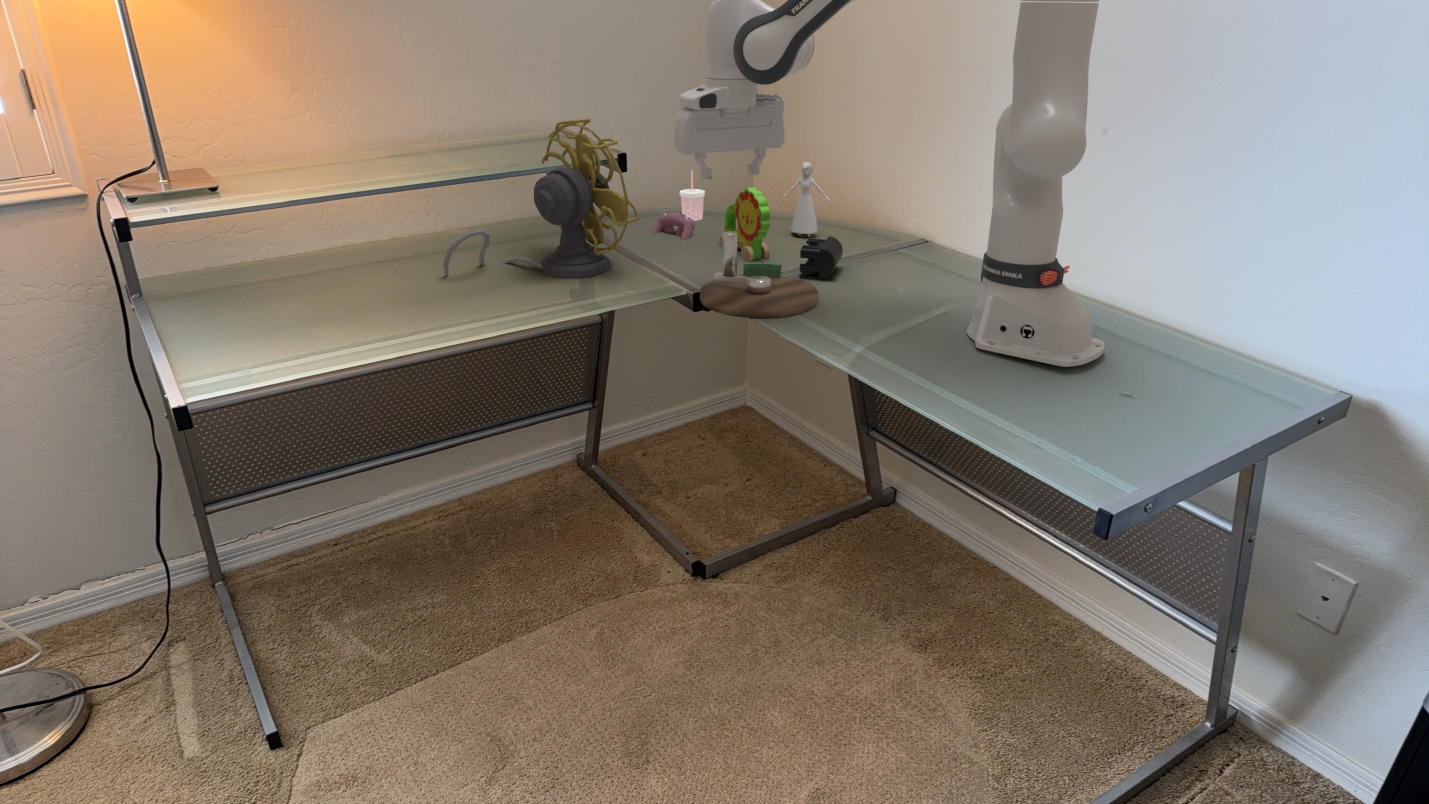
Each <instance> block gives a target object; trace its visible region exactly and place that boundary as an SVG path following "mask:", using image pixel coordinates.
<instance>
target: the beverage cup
mask: <svg viewBox="0 0 1429 804" xmlns="http://www.w3.org/2000/svg"><path fill="white" fill-rule="evenodd" d="M690 187H691V188H688V189H681V190H680V191H679V196H680V203H681V214H684V215H686V216H687V217H689V218H691V219H692V220H693V221H694V222H695V221H701V220H702V219H703V215H704V201H705V200H704V199H705V195H706V191H705V190H703V189H699V188H694V169H690Z"/></svg>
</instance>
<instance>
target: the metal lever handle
mask: <svg viewBox="0 0 1429 804" xmlns="http://www.w3.org/2000/svg"><path fill="white" fill-rule="evenodd" d="M722 236H723V246H722V272H718V271H717V272H715V273H714V274H713V280H717V281H724V282H731V283H738V284H745V285H747V290H748V291H749V292H752V293H767V292H769V291H771V278H769V277H766V276H752V277H747V276H740V275H741V274H738V248H737V232H732V231H729V232H725V231H724V232H723V234H722Z"/></svg>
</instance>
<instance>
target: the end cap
mask: <svg viewBox="0 0 1429 804" xmlns="http://www.w3.org/2000/svg"><path fill="white" fill-rule="evenodd" d="M805 243H806V244H804V245H802V246H801V247H800V252H799V253H800V254H799V258H801V259H807V260H806V261H805V263H800V264H799V272H800V274H799V278H800V280H814V281H822V280H824V279H825V278H827V277H828V276H830V275H831V274H832V273H833V272H834V270H835V268H836V267H837V266H838V264H839V262H840V261H841V259H842V257H843V253H844V250H843V249H844V248H843V245H842V243H841V242H840V240H839V239H838V238H836V237H834V236H830V235H828V237H827V238H826V239H824V238H823V239H821V238H811V237H808V238H807V240H806V241H805Z"/></svg>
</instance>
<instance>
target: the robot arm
mask: <svg viewBox="0 0 1429 804" xmlns="http://www.w3.org/2000/svg"><path fill="white" fill-rule="evenodd" d="M1020 1H1021V2H1020V3H1019V10H1018V11H1019V12H1018V17H1017V25H1016V31H1015V40H1014V48H1013V53H1012V54H1013V55H1012V63H1013V64H1012V65H1013V66H1012V68H1013V69H1012V70H1013V75H1012V99H1011V100H1012V101H1011V104H1009V105H1008V106H1007V107H1006V108H1005V109H1004V110H1003V112H1002V113H1001V114H1000V115H999V118H998V120H997V123H996V127H995V128H996V129H995V140H994V143H995V144H994V157H993V158H994V159H993V171H992V173H993V174H992V175H993V176H992V177H993V180H992V206H991V207H992V208H991V216H990V225H989V231H988V240H987V248H986V251H985V252H984V254H983V258H982V264H981V272H980V283H981V285H980V289H979V295H978V298H977V301H976V305H975V308H974V312H973V314H972V316H971V320H970V322H969V324H968V326H967V328H966V334H967V335H968V337H969V338H970V339H971V340H973V341H974V343H975V347H976V348H977V349H979V350H983V351H988V352H992V353H998V354H1002V355H1006V356H1011V357H1014V358H1015V357H1017V358H1020V359H1025V360H1030V361H1034V362H1038V363H1039V362H1040V363H1043V364H1044V363H1045V364H1048V365H1053V366H1058V367H1063V368H1065V367H1066V368H1069V367H1076V366H1077V367H1078V366H1082V365H1085V364H1087V363H1090V362H1092V361H1094V360H1096V359H1098V358H1100V357H1101V356H1102V355H1103V354H1104V352H1105V348H1106V347H1105V346H1106V345H1105V342H1104V341H1103V340H1102V339H1098V338H1096V337H1093V331H1094V330H1093V328H1094V327H1093V325H1094V324H1093V323H1094V321H1093V316H1092V313H1091V311H1090V309H1089V308H1087V306H1085V305H1084V304H1083V303H1082V302H1081V300H1079V299H1078V297H1076V295H1074V293H1073V292H1072V291H1071V290H1070V289H1069V288H1068V287H1067V286H1066V285H1065V284H1064V276H1065V274H1067V273H1069V272H1070V271H1069V268H1070V267H1071V266H1070V265H1066V266H1064V267H1063V266H1062V265H1061V263H1060V262H1059V260H1058V258H1057V252H1058V248H1059V242H1060V233H1061V229H1062V223H1063V216H1064V204H1063V177H1064V176H1066V175H1067V174H1069V173H1070V172H1072V171H1073V170H1075V168H1076V167H1077V166H1078V165H1079V164H1080V162H1081V161H1082V160H1083V158H1084V156H1085V153H1086V149H1087V131H1086V126H1087V117H1088V116H1087V114H1088V101H1089V68H1090V60H1091V57H1090V56H1091V53H1092V52H1091V51H1092V46H1093V39H1094V33H1095V26H1096V21H1097V16H1098V10H1099V4H1100V3H1099V2H1100V0H1020ZM852 2H855V0H786V1H785V2H784V3H782V5H780V6H779V7H777V8H774V7H773V6H771V5H768V4H766V2H764V1H763V0H712V1H711V2H710V4H709V8H708V12H707V18H706V19H707V21H706V30H705V31H706V32H705V33H706V34H705V35H706V36H705V51H706V52H705V53H706V55H707V69H706V74H705V83H703V84H701V85H700V86H697V87H694V88H692V89H690V90H686V91H685V92H682V93H681V94H679V98H678V101H679V102H678V103H679V105H680V106H681V107H682V108H681V109H680V110H678V112H677V114H676V119H675V127H674V147H675V148H676V150H677V151H678V152H679V153H681V154H683V155H694V159H695V161H696V163H697V165H698V167H699V168H700V178H701V179H703V180H709V179H710V180H711V179H712V178H713V174H712V173H713V168H711V167H709V166H707V164H706V162H705V160H707V158H708V157H707V154H708V153H709V154H710V153H727V152H741V151H751V150H753V154H754V155H755V156H754V159H753V160H752V163H748V165H747V166H748V167H747V168H748V170H747V173H748V175H750V176H757V175H760V171H761V170H760V169H761V168H760V166H761V165H762V162H763V161H764V160H765V157H766V155H767V149H779V148H781V147H782V146H783V144H784V143H785V123H784V114H785V101H784V100H783V98H782V97H781V96H779V95H778V94H777V93H768V94H765V93H764V94H763V93H758V92H757V91H758V85H763V86H764V85H765V86H767V85H772V84H774V83H776V82H778V81H780V80H781V79H784V78H788V77H790V76H792V75H795V74H797V73H799V72H800V71H801V70H803V69H805V68H806V66H807V65H809V63H810V61H811V59H812V57H813V54H814V51H815V39H814V34H815V33H816V32H817V31H819V30H820V29H821V28H822V27H823V26H824V25H825V24H827V23H828V22H829V21H830V20H831V19H832V18H834V17H835V16H836V15H837V14H838V13H840V11H841V10H842V9H844V8H845V7H846V6H848V5H849V4H851V3H852Z"/></svg>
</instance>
